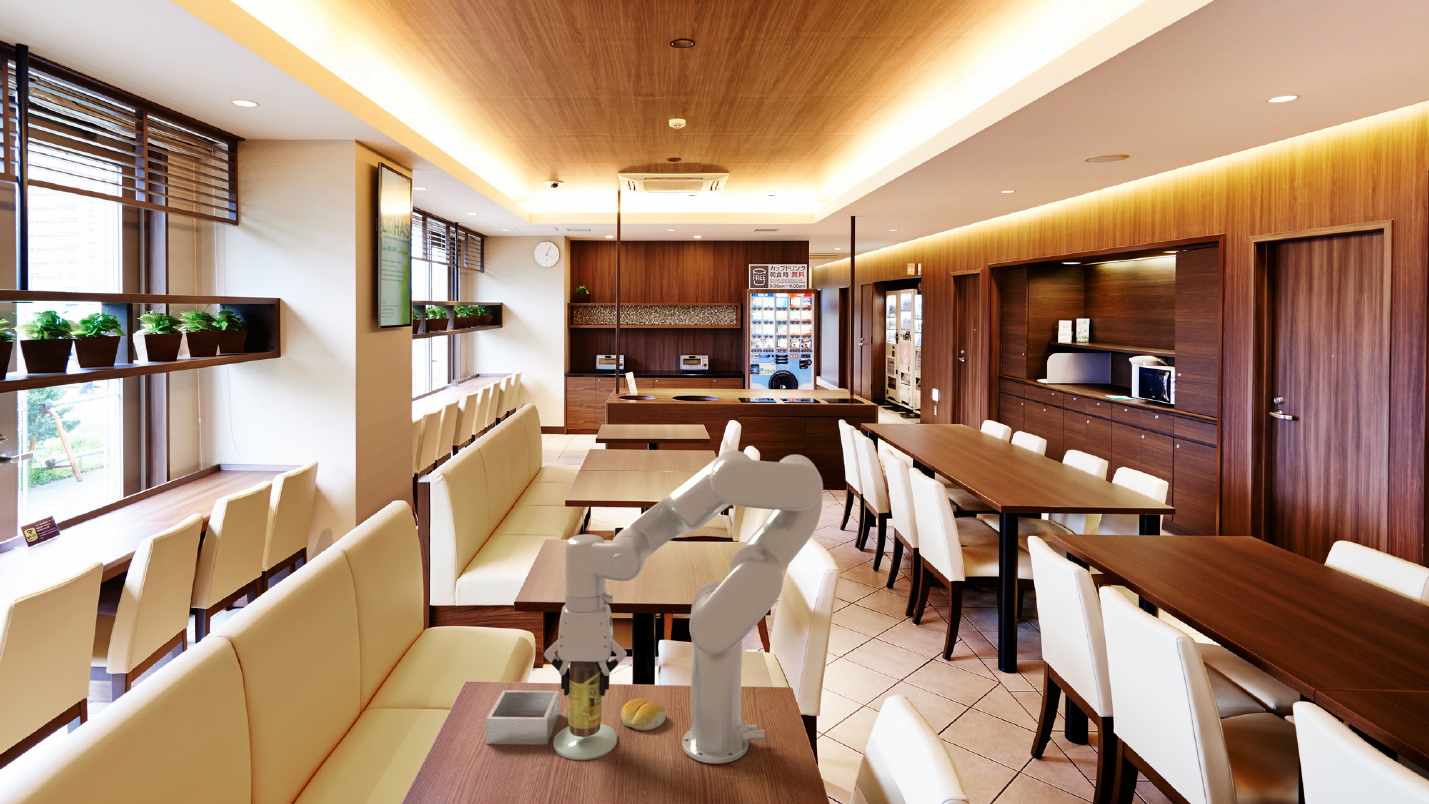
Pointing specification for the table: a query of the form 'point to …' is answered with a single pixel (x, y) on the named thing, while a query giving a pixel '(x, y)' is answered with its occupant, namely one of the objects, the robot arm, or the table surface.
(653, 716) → the bread roll
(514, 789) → the table surface
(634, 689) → the table surface
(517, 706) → the square storage bin
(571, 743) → the saucer
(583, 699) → the sauce bottle
